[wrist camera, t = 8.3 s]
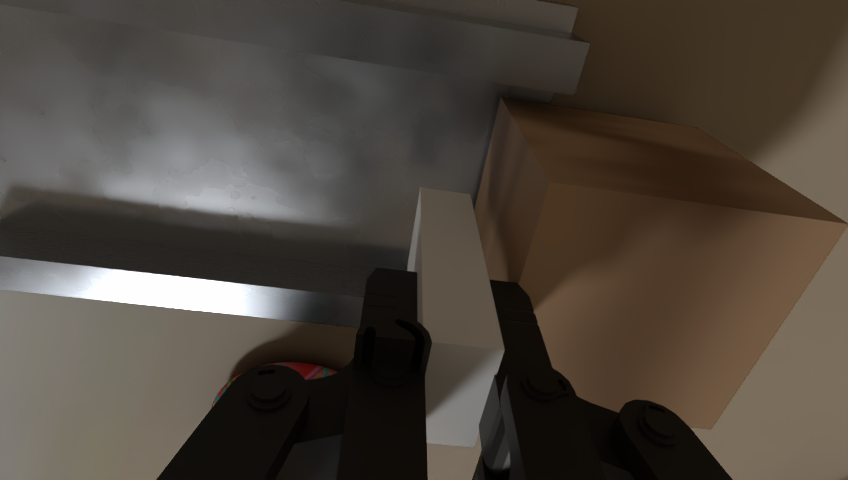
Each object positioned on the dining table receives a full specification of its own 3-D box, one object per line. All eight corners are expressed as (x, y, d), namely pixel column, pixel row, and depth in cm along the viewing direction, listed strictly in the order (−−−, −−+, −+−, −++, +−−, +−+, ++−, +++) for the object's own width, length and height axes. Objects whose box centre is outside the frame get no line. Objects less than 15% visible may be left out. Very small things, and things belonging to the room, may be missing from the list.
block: (460, 269, 20) (480, 407, 14) (500, 97, 17) (550, 182, 11) (624, 289, 21) (711, 429, 15) (696, 127, 17) (848, 224, 11)
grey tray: (19, 263, 21) (-29, 301, 18) (-95, -112, 14) (-189, -123, 12) (486, 316, 23) (494, 356, 20) (573, 5, 16) (598, 15, 14)
